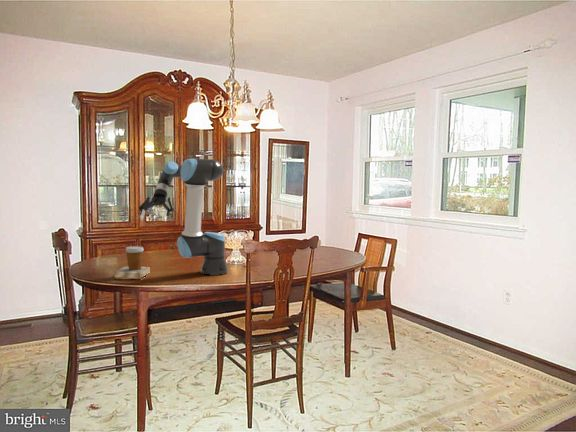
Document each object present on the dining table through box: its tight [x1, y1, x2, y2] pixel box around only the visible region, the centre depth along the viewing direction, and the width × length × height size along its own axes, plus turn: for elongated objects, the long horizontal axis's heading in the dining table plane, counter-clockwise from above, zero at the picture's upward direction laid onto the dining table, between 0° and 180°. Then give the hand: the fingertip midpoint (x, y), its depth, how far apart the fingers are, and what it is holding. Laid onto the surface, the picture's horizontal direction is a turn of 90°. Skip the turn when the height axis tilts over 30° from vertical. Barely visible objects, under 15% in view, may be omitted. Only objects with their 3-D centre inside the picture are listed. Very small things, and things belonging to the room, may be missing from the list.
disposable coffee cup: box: [124, 245, 145, 271], centre depth 231 cm, size 10×10×12 cm
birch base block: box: [113, 265, 151, 278], centre depth 233 cm, size 14×14×4 cm
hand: (152, 219), depth 245 cm, fingers open, 13 cm apart
